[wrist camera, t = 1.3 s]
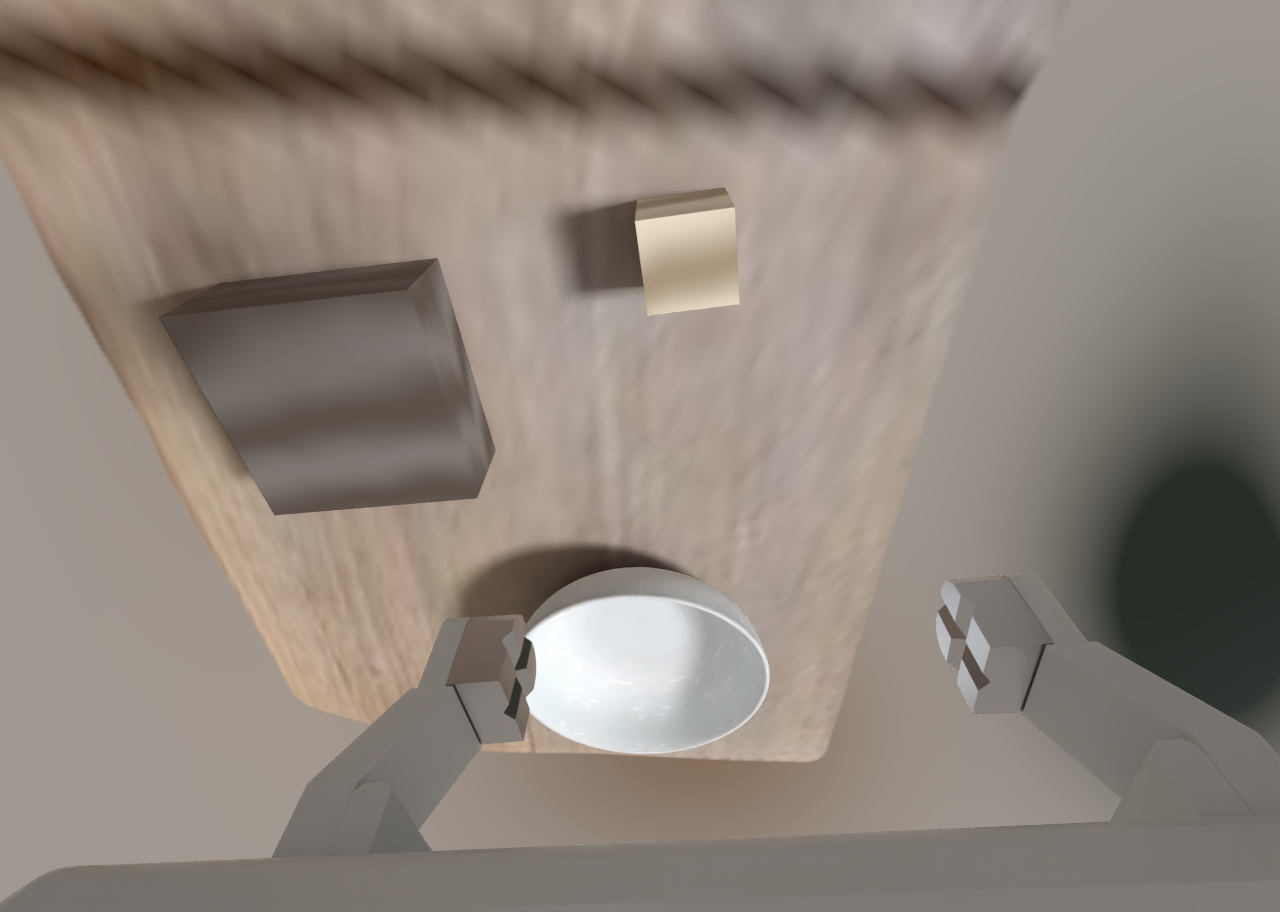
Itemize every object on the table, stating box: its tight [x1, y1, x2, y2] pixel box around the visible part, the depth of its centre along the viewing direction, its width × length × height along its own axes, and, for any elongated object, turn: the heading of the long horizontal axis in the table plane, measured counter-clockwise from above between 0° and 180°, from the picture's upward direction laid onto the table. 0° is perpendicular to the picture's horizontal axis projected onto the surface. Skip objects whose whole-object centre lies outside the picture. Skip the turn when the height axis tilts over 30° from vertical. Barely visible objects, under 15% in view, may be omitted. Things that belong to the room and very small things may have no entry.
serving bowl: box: [525, 567, 770, 754], centre depth 52 cm, size 21×21×7 cm
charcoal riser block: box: [159, 258, 495, 515], centre depth 39 cm, size 14×14×6 cm
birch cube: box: [635, 188, 739, 315], centre depth 34 cm, size 5×5×5 cm
